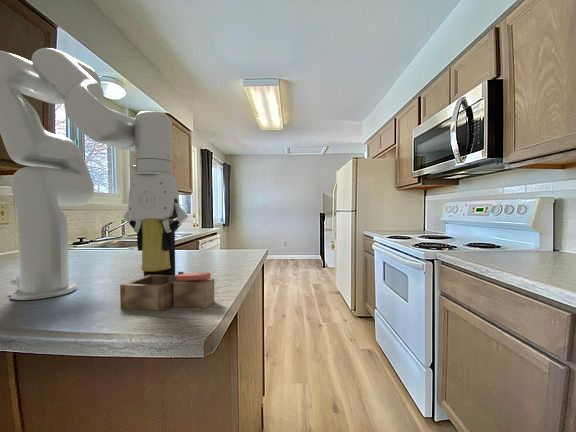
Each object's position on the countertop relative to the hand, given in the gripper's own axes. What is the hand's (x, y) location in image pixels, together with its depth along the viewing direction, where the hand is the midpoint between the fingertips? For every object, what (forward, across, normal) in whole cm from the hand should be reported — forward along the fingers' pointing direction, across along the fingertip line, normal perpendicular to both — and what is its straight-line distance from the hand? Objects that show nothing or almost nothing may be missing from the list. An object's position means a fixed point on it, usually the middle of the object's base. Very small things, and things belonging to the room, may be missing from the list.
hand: (156, 249), depth 65 cm
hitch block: (+12, +4, 0) cm, 13 cm away
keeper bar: (+7, +9, 0) cm, 11 cm away
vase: (+5, 0, 0) cm, 5 cm away
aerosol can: (+12, -6, +10) cm, 17 cm away
